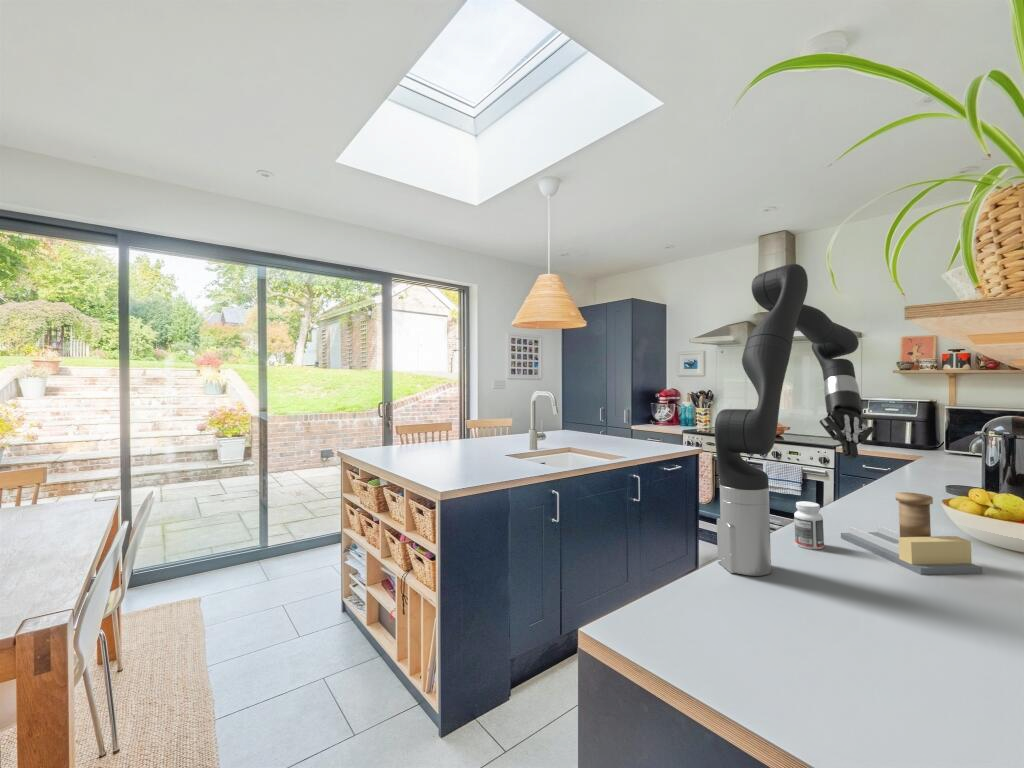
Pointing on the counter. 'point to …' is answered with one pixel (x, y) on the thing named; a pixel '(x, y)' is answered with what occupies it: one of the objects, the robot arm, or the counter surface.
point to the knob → (914, 514)
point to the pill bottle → (808, 525)
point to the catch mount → (918, 551)
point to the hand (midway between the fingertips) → (851, 457)
